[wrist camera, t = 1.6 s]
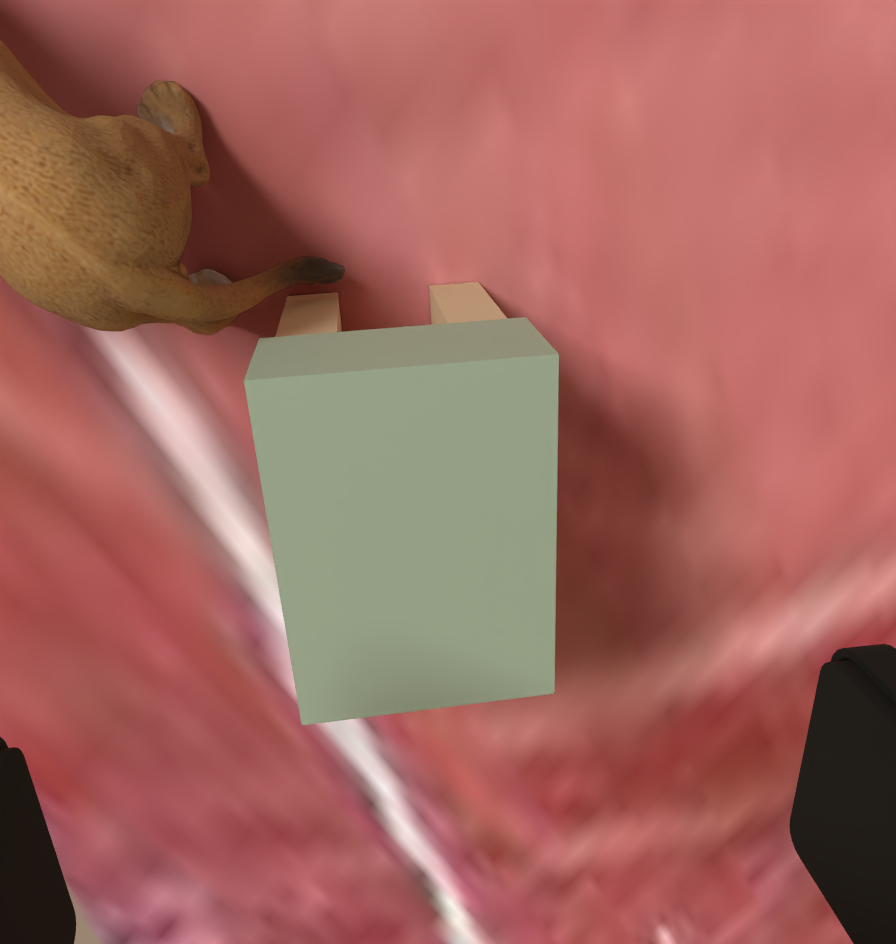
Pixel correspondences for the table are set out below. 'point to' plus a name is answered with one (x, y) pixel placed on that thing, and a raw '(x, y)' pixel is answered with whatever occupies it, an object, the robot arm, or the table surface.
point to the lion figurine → (115, 213)
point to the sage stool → (410, 504)
